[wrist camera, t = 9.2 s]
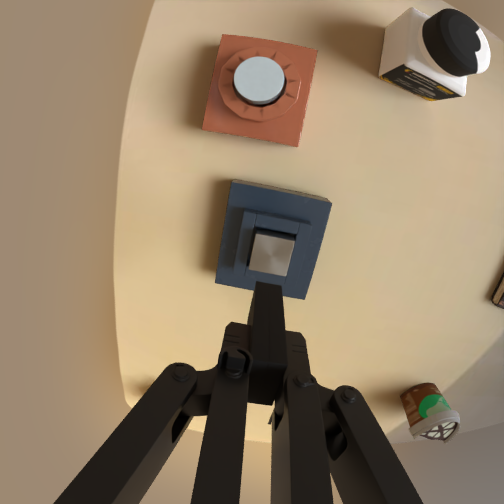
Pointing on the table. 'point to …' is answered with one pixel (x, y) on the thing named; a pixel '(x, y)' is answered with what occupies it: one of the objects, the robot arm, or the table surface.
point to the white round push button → (259, 80)
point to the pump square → (271, 252)
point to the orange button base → (264, 115)
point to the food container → (430, 413)
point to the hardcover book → (499, 294)
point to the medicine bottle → (433, 53)
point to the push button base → (277, 220)
